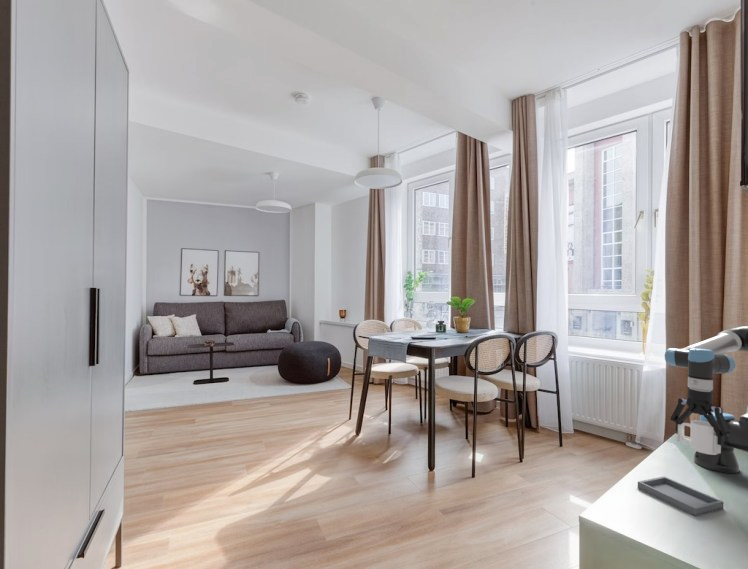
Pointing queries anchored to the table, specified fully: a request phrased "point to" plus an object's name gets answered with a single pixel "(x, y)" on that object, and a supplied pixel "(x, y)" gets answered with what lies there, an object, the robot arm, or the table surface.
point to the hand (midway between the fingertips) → (698, 446)
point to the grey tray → (681, 496)
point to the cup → (700, 436)
